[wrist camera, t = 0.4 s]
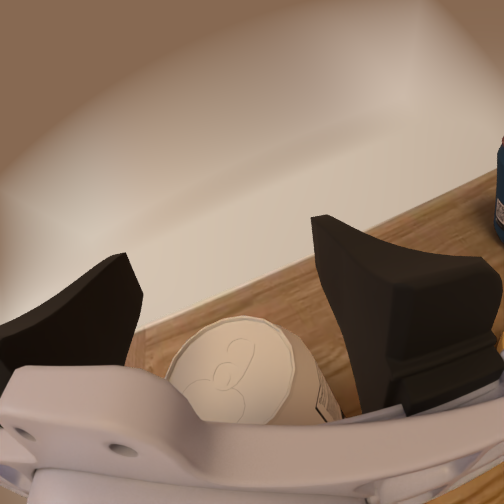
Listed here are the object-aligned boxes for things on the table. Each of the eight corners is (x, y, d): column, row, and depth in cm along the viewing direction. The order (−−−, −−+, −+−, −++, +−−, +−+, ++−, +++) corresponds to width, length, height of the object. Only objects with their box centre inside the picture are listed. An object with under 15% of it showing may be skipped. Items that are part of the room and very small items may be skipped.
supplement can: (331, 499, 18) (261, 485, 9) (245, 469, 23) (129, 415, 14) (365, 413, 23) (333, 316, 14) (281, 394, 28) (200, 298, 19)
